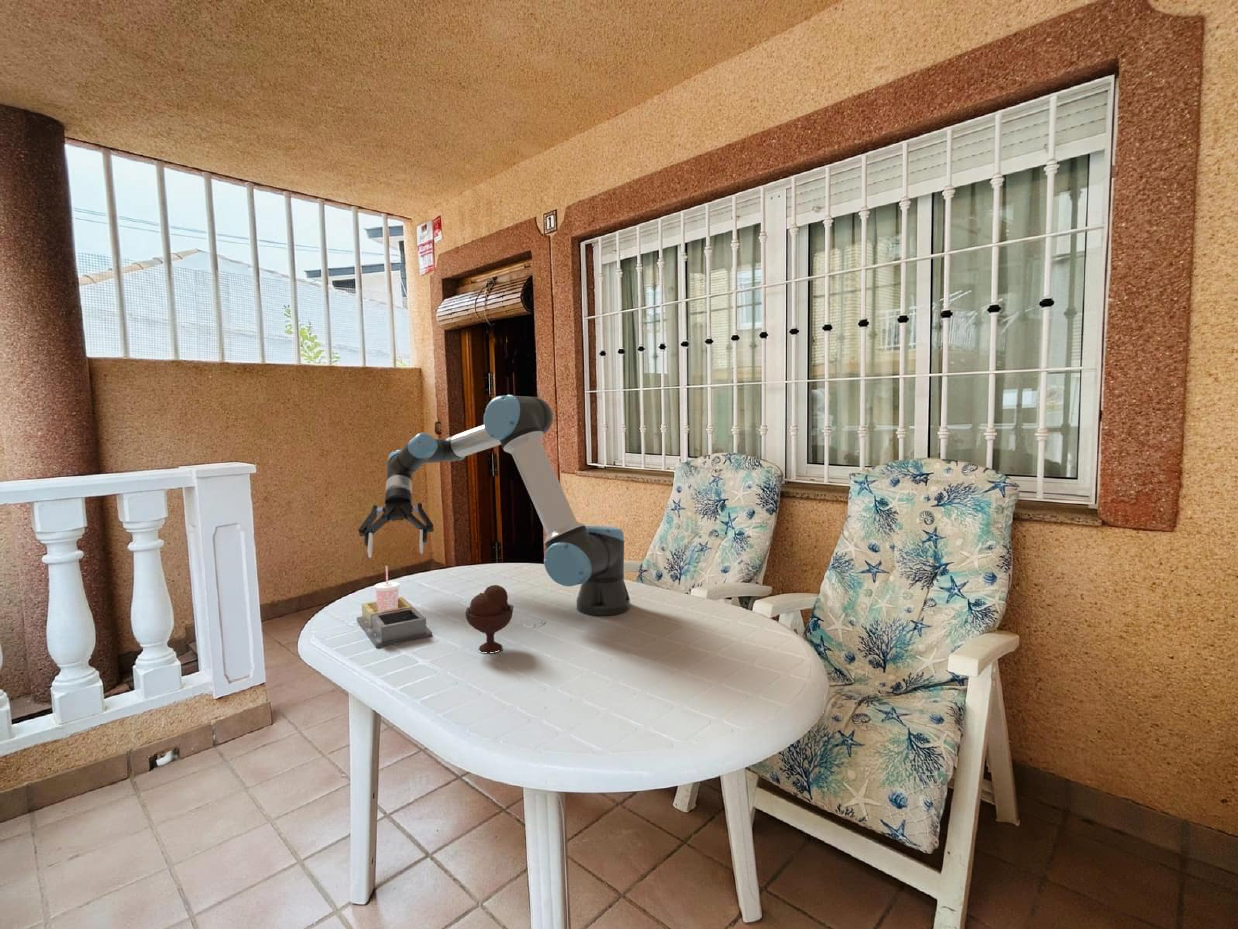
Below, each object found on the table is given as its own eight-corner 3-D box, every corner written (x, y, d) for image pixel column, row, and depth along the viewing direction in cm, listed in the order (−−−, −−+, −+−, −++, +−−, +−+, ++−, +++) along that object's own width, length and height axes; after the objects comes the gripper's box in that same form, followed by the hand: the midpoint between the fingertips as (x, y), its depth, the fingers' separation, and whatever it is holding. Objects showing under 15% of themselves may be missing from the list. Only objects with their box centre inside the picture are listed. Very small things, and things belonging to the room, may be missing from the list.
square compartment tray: (432, 635, 142) (431, 618, 142) (376, 647, 135) (375, 629, 134) (407, 611, 160) (407, 595, 160) (356, 621, 153) (356, 604, 152)
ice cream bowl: (496, 636, 142) (495, 576, 141) (523, 649, 134) (522, 586, 133) (457, 648, 134) (456, 585, 133) (483, 663, 126) (481, 596, 125)
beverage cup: (375, 623, 148) (374, 569, 147) (375, 616, 154) (373, 564, 152) (401, 620, 150) (399, 567, 149) (399, 613, 156) (398, 562, 155)
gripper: (442, 499, 181) (442, 556, 168) (356, 503, 175) (349, 563, 161) (441, 484, 176) (441, 542, 163) (352, 488, 169) (344, 548, 156)
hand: (395, 553), depth 162 cm, fingers open, 13 cm apart
